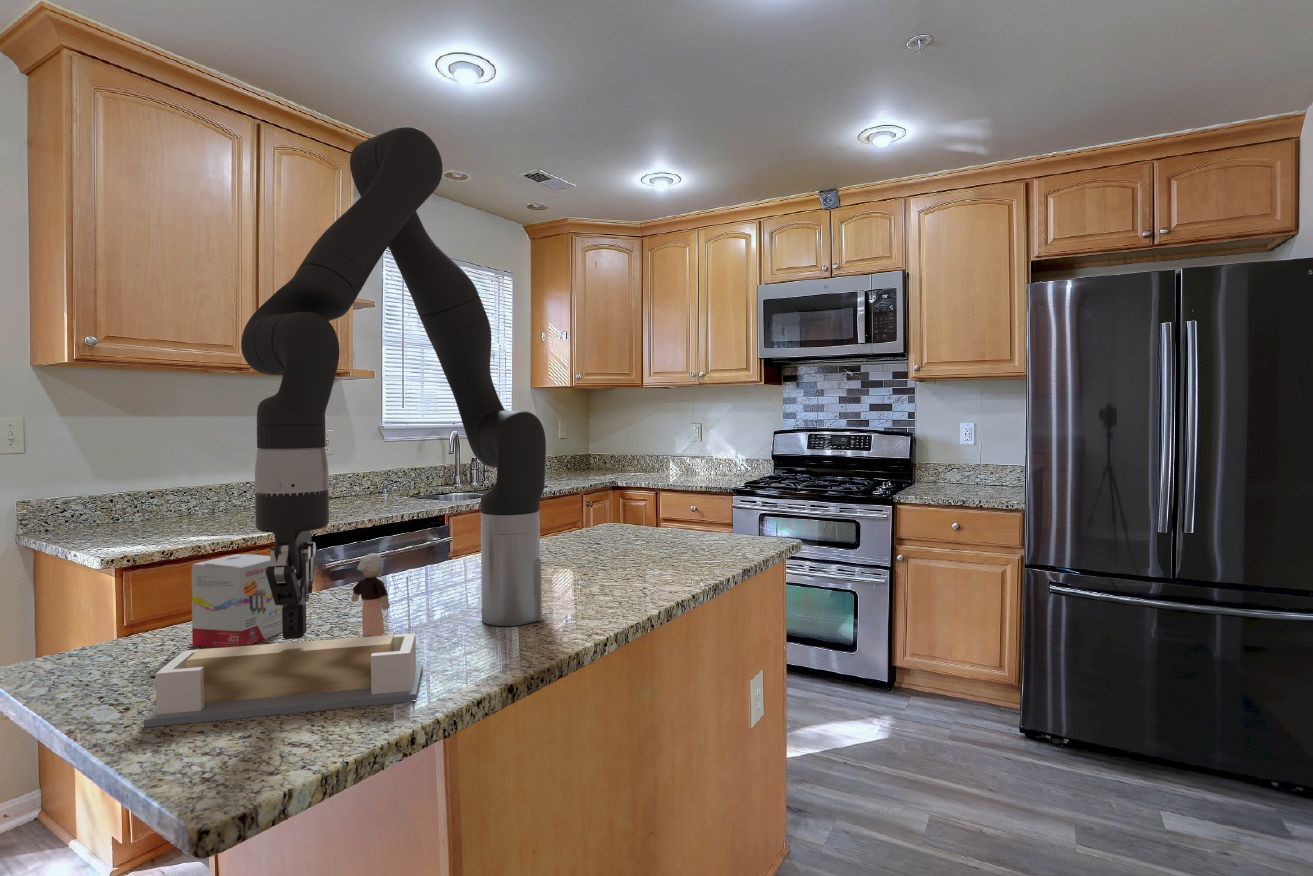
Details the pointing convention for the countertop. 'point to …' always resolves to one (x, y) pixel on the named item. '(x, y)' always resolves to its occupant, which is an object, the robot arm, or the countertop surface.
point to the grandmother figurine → (371, 595)
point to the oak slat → (288, 668)
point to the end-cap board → (185, 696)
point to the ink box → (233, 602)
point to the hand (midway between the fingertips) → (294, 636)
